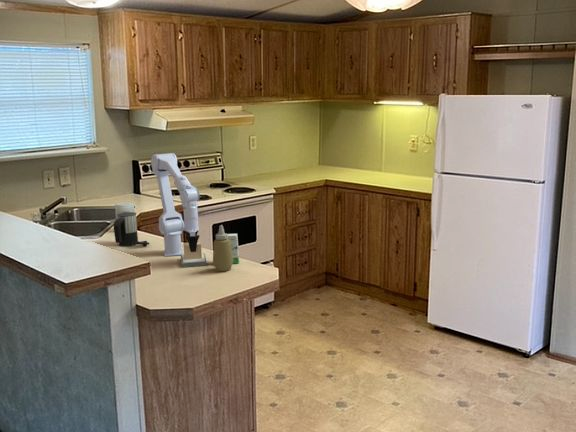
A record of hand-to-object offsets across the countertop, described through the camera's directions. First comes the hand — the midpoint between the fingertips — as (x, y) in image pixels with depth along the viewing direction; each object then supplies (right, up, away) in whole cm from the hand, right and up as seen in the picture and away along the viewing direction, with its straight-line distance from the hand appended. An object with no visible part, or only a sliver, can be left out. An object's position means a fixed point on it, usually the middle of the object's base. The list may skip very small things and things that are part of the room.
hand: (192, 249), depth 261 cm
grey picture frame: (0, -5, +1) cm, 5 cm away
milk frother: (-33, 0, +34) cm, 47 cm away
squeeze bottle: (+14, -8, -11) cm, 20 cm away
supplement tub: (-44, +6, +65) cm, 79 cm away
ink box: (+15, -6, -1) cm, 16 cm away
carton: (0, -3, +1) cm, 3 cm away
